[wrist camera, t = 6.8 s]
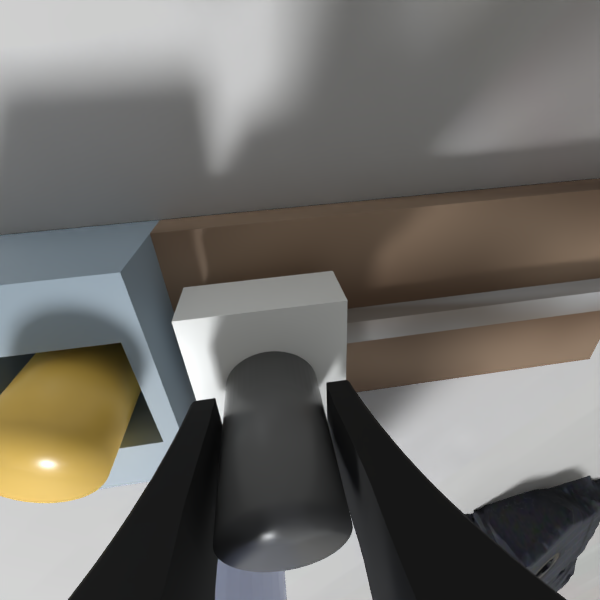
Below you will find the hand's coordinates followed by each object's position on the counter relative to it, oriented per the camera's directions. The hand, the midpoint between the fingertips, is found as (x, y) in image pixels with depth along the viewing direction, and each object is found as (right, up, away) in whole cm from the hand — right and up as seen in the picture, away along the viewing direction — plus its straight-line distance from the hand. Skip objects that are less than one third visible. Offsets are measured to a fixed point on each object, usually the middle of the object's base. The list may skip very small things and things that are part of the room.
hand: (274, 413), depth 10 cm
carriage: (-1, +2, +4) cm, 4 cm away
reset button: (-7, +1, +2) cm, 7 cm away
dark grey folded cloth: (+22, -21, +24) cm, 39 cm away
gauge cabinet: (-7, +2, +4) cm, 9 cm away
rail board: (+6, +4, +6) cm, 9 cm away
